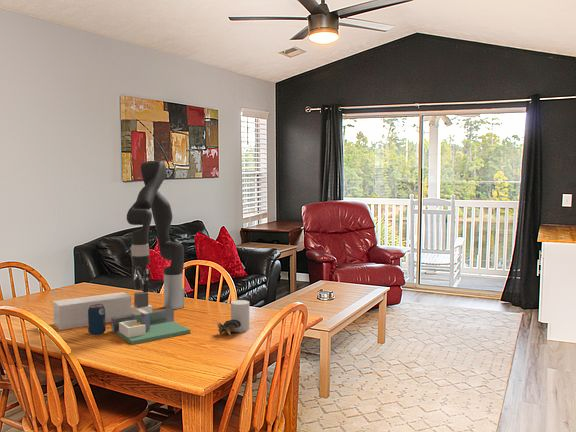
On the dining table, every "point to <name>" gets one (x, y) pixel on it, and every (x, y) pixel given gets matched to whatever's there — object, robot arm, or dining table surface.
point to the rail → (155, 318)
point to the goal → (131, 328)
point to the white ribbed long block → (76, 309)
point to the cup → (240, 314)
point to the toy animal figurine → (228, 326)
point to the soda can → (96, 319)
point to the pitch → (157, 332)
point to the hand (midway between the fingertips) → (141, 290)
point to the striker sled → (142, 308)
